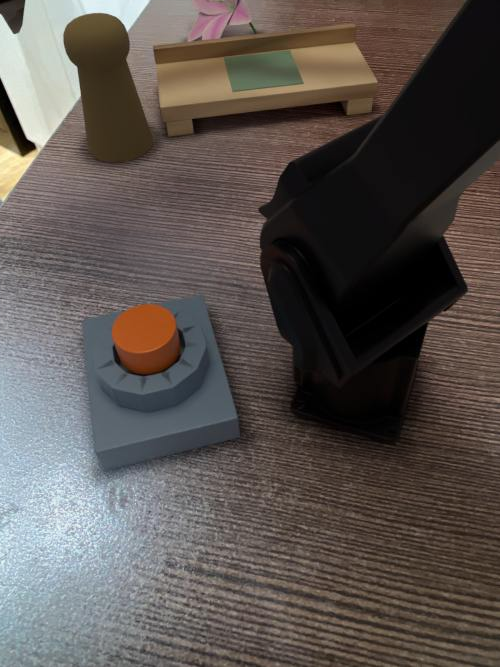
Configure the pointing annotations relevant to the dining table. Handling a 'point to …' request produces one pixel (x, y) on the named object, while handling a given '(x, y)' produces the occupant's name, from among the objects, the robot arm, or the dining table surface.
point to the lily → (218, 17)
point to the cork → (107, 88)
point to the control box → (158, 392)
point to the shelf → (262, 74)
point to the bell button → (146, 339)
